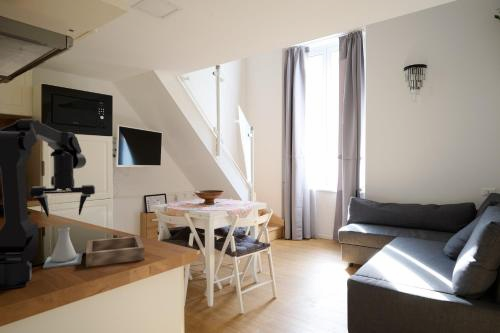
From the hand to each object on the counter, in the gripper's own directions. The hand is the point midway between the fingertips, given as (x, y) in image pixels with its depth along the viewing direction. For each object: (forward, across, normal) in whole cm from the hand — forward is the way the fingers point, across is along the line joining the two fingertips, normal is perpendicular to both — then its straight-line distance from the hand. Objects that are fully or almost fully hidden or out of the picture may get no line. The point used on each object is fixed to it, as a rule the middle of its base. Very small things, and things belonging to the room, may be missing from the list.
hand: (64, 215), depth 106 cm
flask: (+13, 0, +7) cm, 15 cm away
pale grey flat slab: (+13, -1, +7) cm, 15 cm away
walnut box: (+14, -16, +7) cm, 22 cm away
